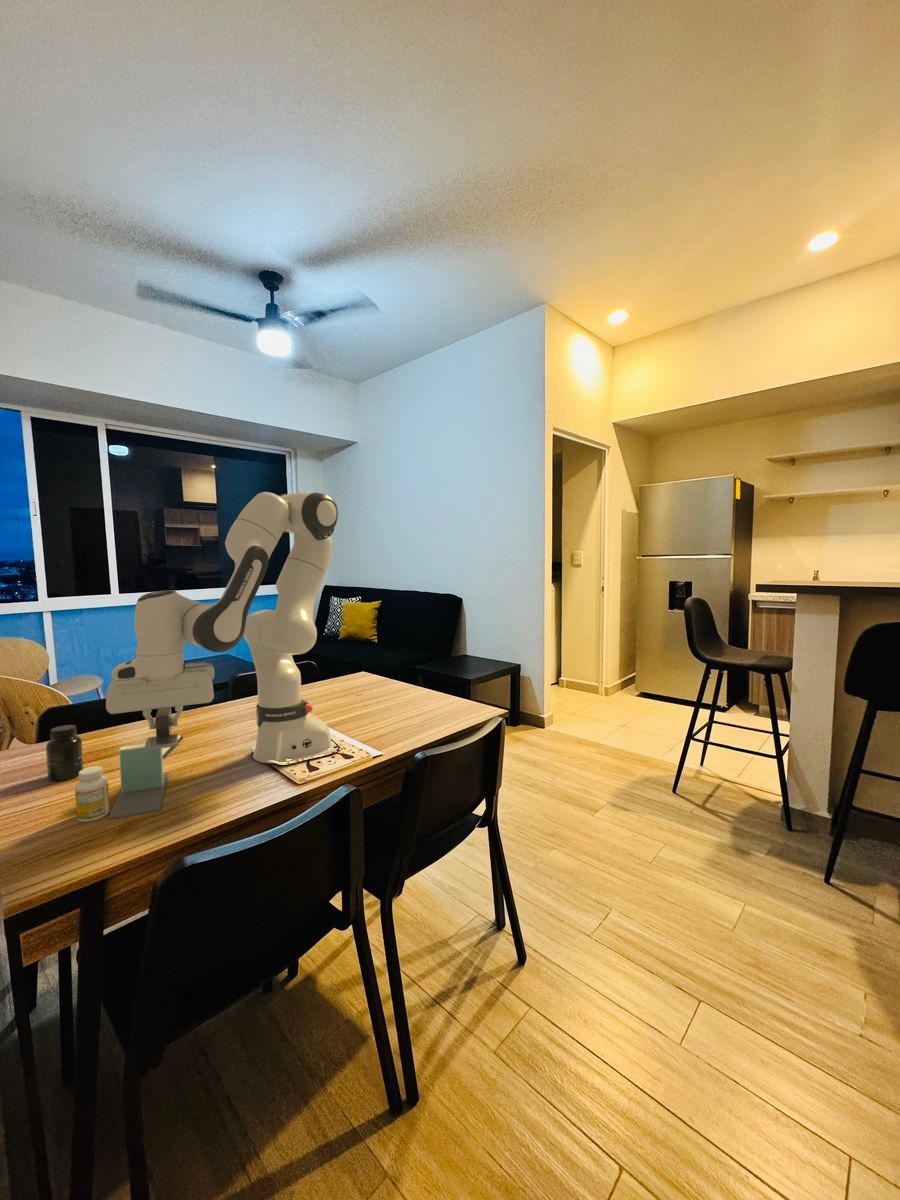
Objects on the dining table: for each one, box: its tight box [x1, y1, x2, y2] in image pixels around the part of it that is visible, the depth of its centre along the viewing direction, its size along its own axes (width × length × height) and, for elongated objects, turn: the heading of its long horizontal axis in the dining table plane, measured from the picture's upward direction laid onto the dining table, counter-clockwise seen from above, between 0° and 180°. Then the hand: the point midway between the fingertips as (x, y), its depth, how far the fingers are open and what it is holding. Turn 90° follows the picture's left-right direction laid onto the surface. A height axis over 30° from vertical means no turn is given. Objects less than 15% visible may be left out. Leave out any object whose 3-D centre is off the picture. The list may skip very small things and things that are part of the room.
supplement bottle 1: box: [45, 724, 84, 782], centre depth 117 cm, size 7×7×12 cm
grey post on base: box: [144, 707, 179, 751], centre depth 104 cm, size 12×6×5 cm, turn 26°
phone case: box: [144, 734, 184, 760], centre depth 134 cm, size 9×2×16 cm
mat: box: [107, 772, 170, 820], centre depth 108 cm, size 9×19×1 cm, turn 25°
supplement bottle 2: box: [74, 765, 110, 823], centre depth 99 cm, size 5×5×10 cm
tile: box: [118, 743, 164, 793], centre depth 110 cm, size 8×2×10 cm, turn 115°
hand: (164, 726), depth 106 cm, fingers closed on grey post on base, 2 cm apart
